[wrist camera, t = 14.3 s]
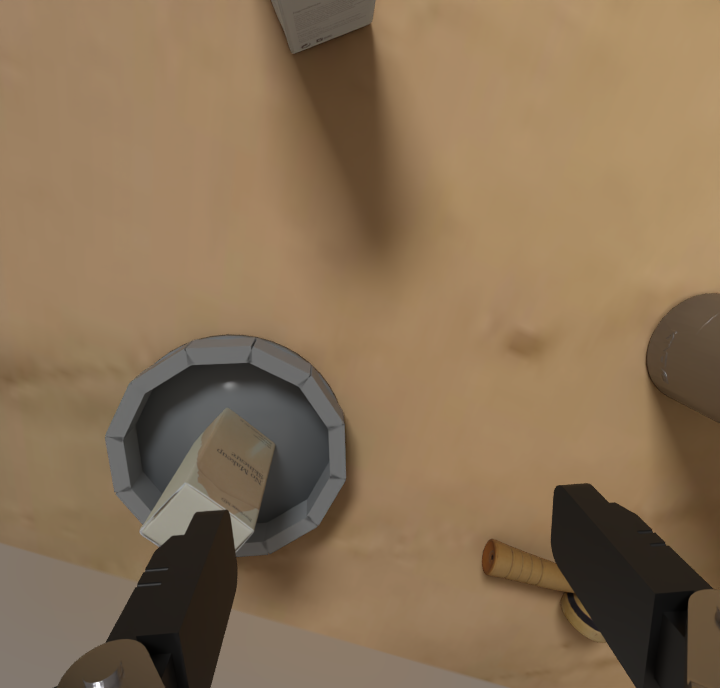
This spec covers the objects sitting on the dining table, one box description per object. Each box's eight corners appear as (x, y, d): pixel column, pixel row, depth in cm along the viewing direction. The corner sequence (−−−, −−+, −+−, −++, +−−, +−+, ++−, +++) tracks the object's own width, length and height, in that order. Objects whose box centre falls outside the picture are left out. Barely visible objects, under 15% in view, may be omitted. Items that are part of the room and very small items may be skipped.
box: (277, 444, 37) (260, 535, 27) (242, 481, 38) (212, 585, 27) (224, 403, 36) (183, 482, 25) (188, 442, 37) (135, 535, 26)
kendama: (464, 577, 45) (644, 631, 45) (482, 619, 39) (690, 682, 39) (489, 501, 44) (670, 555, 45) (511, 531, 38) (722, 594, 38)
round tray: (341, 330, 36) (343, 341, 33) (347, 524, 41) (349, 550, 38) (108, 338, 35) (88, 350, 32) (141, 538, 39) (125, 565, 36)
